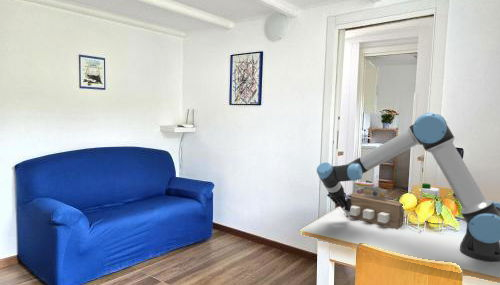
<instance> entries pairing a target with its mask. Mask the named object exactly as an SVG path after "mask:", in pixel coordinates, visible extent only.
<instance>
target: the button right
mask: <svg viewBox="0 0 500 285" xmlns="http://www.w3.org/2000/svg"><path fill="white" fill-rule="evenodd" d="M389 221H390V213H387V212H381V213H379V214H378V222H382V223H387V222H389Z"/></svg>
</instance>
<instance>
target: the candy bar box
mask: <svg viewBox="0 0 500 285" xmlns="http://www.w3.org/2000/svg"><path fill="white" fill-rule="evenodd" d="M374 185H375V183H373V182H372V183H369V182H368V183H366V181H365V182H364V181H359V180H355V181H353V193H358V194H363V195H364V192H365V186H369V187H374ZM353 193H352V194H353Z"/></svg>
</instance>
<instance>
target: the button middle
mask: <svg viewBox="0 0 500 285" xmlns="http://www.w3.org/2000/svg"><path fill="white" fill-rule="evenodd" d="M363 218H366V219H372V218H375V210H374V209H370V208H368V209H365V210H363Z"/></svg>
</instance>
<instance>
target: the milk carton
mask: <svg viewBox="0 0 500 285" xmlns="http://www.w3.org/2000/svg"><path fill="white" fill-rule="evenodd" d="M421 184H422V185H421V189H420V197H419V199H420V198H422V193H423V192H424V193H428V194H433V195H437V196H439V197H440V192H441V191H440V188H439V187H432V186H431V184H430V183H421Z"/></svg>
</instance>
